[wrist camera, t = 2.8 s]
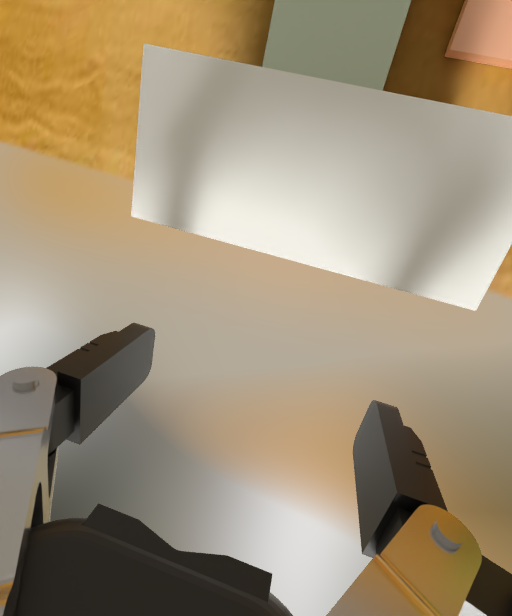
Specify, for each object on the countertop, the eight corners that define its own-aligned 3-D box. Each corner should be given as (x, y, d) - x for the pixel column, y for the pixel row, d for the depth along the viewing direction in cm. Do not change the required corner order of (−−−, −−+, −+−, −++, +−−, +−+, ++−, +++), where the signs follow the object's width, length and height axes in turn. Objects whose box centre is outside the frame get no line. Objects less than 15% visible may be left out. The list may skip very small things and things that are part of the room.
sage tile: (429, -58, 18) (434, -72, 17) (378, 102, 21) (380, 97, 20) (294, -77, 19) (292, -91, 18) (263, 78, 22) (260, 73, 21)
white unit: (456, 154, 21) (633, 96, 9) (408, 268, 24) (490, 342, 12) (231, 105, 23) (119, 2, 11) (212, 216, 26) (108, 233, 14)
